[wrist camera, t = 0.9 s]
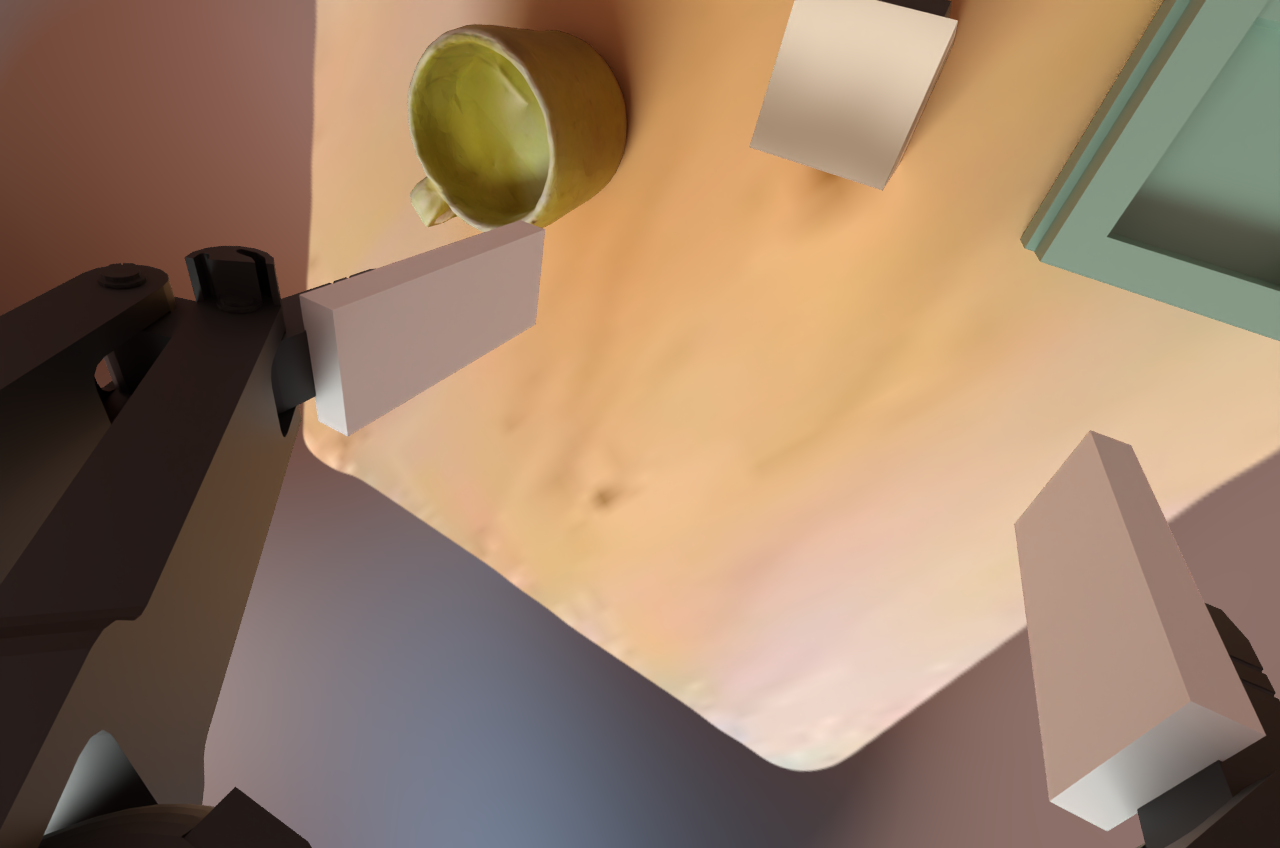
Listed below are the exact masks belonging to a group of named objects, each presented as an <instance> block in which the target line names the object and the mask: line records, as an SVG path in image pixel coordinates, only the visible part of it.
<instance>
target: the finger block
mask: <svg viewBox="0 0 1280 848" xmlns="http://www.w3.org/2000/svg"><path fill="white" fill-rule="evenodd" d="M950 9H951V1H949V0H795V1H794V4H793V8H792V11H791V14H790V17H789V21H788V24H787V27H786V30H785V34H784V37H783V40H782V43H781V47H780V50H779V53H778V56H777V59H776V63H775V66H774V69H773V72H772V76H771V79H770V82H769V85H768V89H767V92H766V95H765V98H764V102H763V105H762V108H761V111H760V115H759V118H758V121H757V124H756V127H755V131H754V134H753V137H752V140H751V144H750V148H753V149H756V150H760V151H763V152H766V153H769V154H772V155H775V156H778V157H781V158H784V159H787V160H790V161H793V162H797V163H800V164H803V165H806V166H809V167H812V168H815V169H818V170H821V171H824V172H827V173H830V174H834V175H837V176H840V177H843V178H846V179H849V180H852V181H855V182H858V183H861V184H864V185H867V186H870V187H874V188H877V189H880V190H883V189H884V187H885V186H886V184H887V183H888V181H889V180H890V178H891V176H892V175H893V173H894V172H895V170H896V169H897V167H898V166H899V164H900V162H901V160H902V157H903V155H904V153H905V151H906V148H907V146H908V144H909V142H910V140H911V137H912V135H913V133H914V131H915V129H916V126H917V124H918V122H919V120H920V117H921V115H922V113H923V111H924V109H925V106H926V104H927V102H928V100H929V97H930V95H931V93H932V91H933V89H934V86H935V84H936V82H937V80H938V77H939V75H940V73H941V71H942V69H943V66H944V64H945V62H946V60H947V57H948V55H949V53H950V51H951V49H952V46H953V44H954V39H955V34H956V29H957V24H958V20H954V19H950Z"/></svg>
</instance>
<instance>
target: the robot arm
mask: <svg viewBox="0 0 1280 848" xmlns="http://www.w3.org/2000/svg"><path fill="white" fill-rule="evenodd" d="M544 235H545V229H543V228H540V227H538V226H535V225H532V224H530V223H527V222H524V221H521V220H519V221H516V222H513V223H510V224H507V225H504V226H501V227H498V228H495V229H493V230H490V231H487V232H484V233H481V234H478V235H475V236H472V237H469V238H466V239H463V240H460V241H457V242H454V243H451V244H448V245H445V246H442V247H439V248H436V249H433V250H430V251H427V252H425V253H422V254H419V255H416V256H413V257H410V258H407V259H404V260H401V261H398V262H395V263H392V264H389V265H386V266H383V267H380V268H377V269H369V270H366V271H363V272H360V273H357V274H354V275H351V276H350V277H349V278H346V277H345V278H342V279H339V280H336V281H334V283H333V284H331V283H328V284H325V285H322V286H319V287H316V288H313V289H310V290H307V291H304V292H301V293H298V294H295V295H292V296H289V297H286V298H283V299H281V298H280V292H279V286H278V281H277V275H276V269H275V264H274V258H273V257H272V256H270V255H269V254H268V253H266V252H263V251H261V250H258V249H254V248H247V247H241V246H218V247H210V248H204V249H201V250H198V251H195V252H192V253H190V254H189V255H188V256H186V257H185V261H186V264H187V268H188V271H189V276H190V279H191V283H192V287H193V291H194V294H195V298H196V301H192V300H187V299H183V298H178V297H174V295H173V291H172V288H171V284H170V281H169V277H168V275H167V274H166V273H165V272H163V271H162V270H160V269H157V268H153V267H150V266H143V265H135V264H132V263H123V265H121V263H119V264H111V265H109V266H106V267H101V268H96V269H93V270H90V271H88V272H85V273H82V274H80V275H78V276H76V277H75V278H73V279H71V280H69V281H67V282H65V283H63V284H61V285H59V286H57V287H56V288H53V289H51V290H49V291H48V292H46V293H44V294H42V295H40V296H38V297H36V298H34V299H32V300H30V301H28V302H26V303H25V304H23V305H21V306H19V307H17V308H15V309H13V310H11V311H9V312H7V313H5V314H3V315H1V316H0V848H312V847H311V846H310V844H309V843H308V841H306V840H305V839H304V838H302V837H301V836H300V835H299V834H297V833H296V832H295V831H293V830H292V829H291V828H289V827H288V826H286V825H285V824H284V823H283V822H281V821H280V820H279V819H277V818H276V817H275V816H273V815H272V814H271V813H269V812H268V811H267V810H265V809H264V808H263V807H261V806H260V805H259V804H257V803H256V802H255V801H253V800H252V799H251V798H250V797H248V796H247V795H246V794H244V793H243V792H242V791H240V790H239V789H238V788H236V787H235V788H234V789H233V790H232V791H231V792H230V793H229V794H228V795H227V796H226V797H225V798H224V799H223V800H222V801H221V802H220V803H219V804H218V805H217V806H216V807H212V806H204V805H202V801H203V791H204V750H205V743H206V739H207V734H208V731H209V727H210V724H211V721H212V717H213V714H214V711H215V707H216V704H217V701H218V697H219V694H220V690H221V687H222V683H223V680H224V677H225V673H226V670H227V667H228V664H229V660H230V657H231V654H232V650H233V647H234V643H235V640H236V637H237V634H238V630H239V627H240V624H241V620H242V617H243V613H244V610H245V607H246V603H247V600H248V597H249V593H250V590H251V586H252V583H253V580H254V577H255V573H256V570H257V566H258V563H259V560H260V556H261V553H262V550H263V546H264V543H265V539H266V536H267V533H268V530H269V526H270V523H271V519H272V516H273V513H274V510H275V506H276V503H277V499H278V496H279V493H280V489H281V486H282V483H283V479H284V476H285V473H286V469H287V466H288V463H289V459H290V456H291V453H292V449H293V446H294V442H295V439H296V436H297V432H298V429H299V426H300V422H301V413H300V407H299V404H301V403H303V402H305V401H307V400H309V399H311V398H313V397H315V401H316V407H317V414H318V420H319V422H321V423H323V424H325V425H327V426H329V427H331V428H333V429H335V430H336V431H338V432H340V433H342V434H344V435H346V436H349V435H351V434H353V433H354V432H356V431H358V430H359V429H361V428H363V427H364V426H366V425H368V424H370V423H371V422H373V421H375V420H376V419H378V418H380V417H381V416H383V415H385V414H386V413H388V412H390V411H391V410H393V409H395V408H396V407H398V406H400V405H401V404H403V403H405V402H406V401H408V400H410V399H411V398H413V397H415V396H416V395H418V394H420V393H421V392H423V391H425V390H426V389H428V388H430V387H431V386H433V385H435V384H436V383H438V382H440V381H441V380H443V379H445V378H446V377H448V376H450V375H452V374H453V373H455V372H457V371H458V370H460V369H462V368H463V367H465V366H467V365H468V364H470V363H472V362H473V361H475V360H477V359H478V358H480V357H482V356H483V355H485V354H487V353H488V352H490V351H492V350H493V349H495V348H497V347H498V346H500V345H502V344H503V343H505V342H507V341H508V340H510V339H512V338H513V337H515V336H517V335H518V334H520V333H522V332H523V331H525V330H527V329H529V328H530V327H532V326H534V325H535V324H536V315H537V305H538V295H539V285H540V275H541V265H542V255H543V245H544ZM103 358H104V360H105V363H106V365H107V368H108V370H109V373H110V376H111V378H112V381H111V382H110V383H109V384H107V385H106V386H105V387H103V388H100V386H99V385H98V384H97V382H96V379H95V377H94V374H95V371H96V367H97V365H98V364H99V362H100V361H101V360H102V359H103ZM1014 525H1015V533H1016V541H1017V548H1018V556H1019V564H1020V572H1021V580H1022V588H1023V596H1024V604H1025V612H1026V620H1027V628H1028V635H1029V643H1030V651H1031V659H1032V667H1033V675H1034V683H1035V690H1036V698H1037V706H1038V715H1039V723H1040V731H1041V737H1042V745H1043V754H1044V762H1045V770H1046V777H1047V785H1048V793H1049V801H1050V802H1052V803H1054V804H1056V805H1058V806H1060V807H1061V808H1064V809H1065V810H1067V811H1069V812H1071V813H1073V814H1075V815H1077V816H1079V817H1081V818H1083V819H1085V820H1087V821H1089V822H1090V823H1092V824H1094V825H1096V826H1098V827H1100V828H1102V829H1104V830H1106V831H1108V830H1110V829H1112V828H1113V827H1115V826H1117V825H1118V824H1120V823H1122V822H1123V821H1125V820H1127V819H1128V818H1130V817H1132V816H1133V815H1135V814H1137V813H1138V815H1139V820H1140V823H1141V828H1142V831H1143V836H1144V840H1145V843H1144V844H1142V845H1140V846H1139V847H1137V848H1280V701H1279V699H1277V698H1275V697H1274V694H1275V691H1274V689H1273V687H1272V685H1271V683H1270V681H1269V679H1268V677H1267V675H1266V674H1263V673H1262V670H1263V667H1262V666H1261V664H1260V662H1259V660H1258V658H1257V656H1256V654H1255V652H1254V650H1253V648H1252V646H1251V644H1250V642H1249V640H1248V639H1247V638H1246V637H1245V636H1244V635H1243V634H1242V632H1241V631H1240V630H1239V629H1238V628H1237V627H1236V626H1235V625H1234V623H1233V622H1232V621H1231V620H1230V619H1229V618H1228V617H1227V616H1226V614H1225V613H1224V612H1223V611H1222V610H1221V609H1218V608H1216V607H1213V606H1211V605H1209V604H1206V603H1204V601H1203V599H1202V597H1201V595H1200V592H1199V590H1198V588H1197V586H1196V584H1195V582H1194V579H1193V577H1192V575H1191V573H1190V571H1189V569H1188V566H1187V565H1186V562H1185V560H1184V558H1183V556H1182V554H1181V551H1180V549H1179V548H1178V545H1177V543H1176V541H1175V539H1174V536H1173V534H1172V532H1171V530H1170V528H1169V526H1168V524H1167V521H1166V519H1165V517H1164V515H1163V513H1162V511H1161V508H1160V506H1159V504H1158V502H1157V500H1156V498H1155V496H1154V493H1153V491H1152V489H1151V487H1150V485H1149V483H1148V481H1147V478H1146V476H1145V474H1144V472H1143V470H1142V468H1141V466H1140V463H1139V461H1138V459H1137V457H1136V455H1135V453H1134V451H1133V448H1132V446H1131V445H1129V444H1126V443H1123V442H1121V441H1118V440H1115V439H1113V438H1110V437H1107V436H1104V435H1102V434H1099V433H1096V432H1094V431H1091V430H1090V431H1089V432H1088V434H1087V435H1086V436H1085V437H1084V439H1083V440H1082V441H1081V442H1080V444H1079V445H1078V446H1077V447H1076V448H1075V450H1074V451H1073V452H1072V453H1071V455H1070V456H1069V457H1068V458H1067V460H1066V461H1065V462H1064V463H1063V465H1062V466H1061V467H1060V468H1059V470H1058V471H1057V472H1056V473H1055V474H1054V476H1053V477H1052V478H1051V479H1050V481H1049V482H1048V483H1047V484H1046V486H1045V487H1044V488H1043V489H1042V491H1041V492H1040V493H1039V494H1038V496H1037V497H1036V498H1035V499H1034V500H1033V502H1032V503H1031V504H1030V505H1029V507H1028V508H1027V509H1026V510H1025V512H1024V513H1023V514H1022V515H1021V517H1020V518H1019V519H1018V520H1017V522H1016V523H1015V524H1014Z"/></svg>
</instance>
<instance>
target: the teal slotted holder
mask: <svg viewBox="0 0 1280 848" xmlns="http://www.w3.org/2000/svg"><path fill="white" fill-rule="evenodd" d="M1020 240H1021V242H1022V244H1023V246H1024V248H1025V249H1028V250H1031V251H1034V252H1035V254H1036V255H1037V257H1038V259H1039V261H1040V262H1043V263H1046V264H1049V265H1052V266H1055V267H1058V268H1061V269H1064V270H1067V271H1070V272H1073V273H1076V274H1079V275H1082V276H1085V277H1088V278H1091V279H1094V280H1097V281H1100V282H1103V283H1106V284H1109V285H1112V286H1115V287H1118V288H1121V289H1124V290H1127V291H1130V292H1133V293H1136V294H1139V295H1142V296H1145V297H1148V298H1151V299H1154V300H1158V301H1161V302H1164V303H1167V304H1170V305H1173V306H1176V307H1179V308H1182V309H1185V310H1188V311H1191V312H1194V313H1197V314H1200V315H1203V316H1206V317H1209V318H1212V319H1215V320H1218V321H1221V322H1224V323H1227V324H1230V325H1233V326H1236V327H1239V328H1242V329H1245V330H1248V331H1251V332H1254V333H1257V334H1260V335H1263V336H1266V337H1269V338H1272V339H1275V340H1278V341H1280V0H1164V1H1163V3H1162V5H1161V6H1160V8H1159V10H1158V11H1157V13H1156V15H1155V16H1154V18H1153V20H1152V21H1151V23H1150V25H1149V26H1148V28H1147V30H1146V31H1145V33H1144V35H1143V36H1142V38H1141V40H1140V41H1139V43H1138V45H1137V46H1136V48H1135V50H1134V51H1133V53H1132V55H1131V56H1130V58H1129V60H1128V61H1127V63H1126V65H1125V66H1124V68H1123V69H1122V71H1121V73H1120V74H1119V76H1118V78H1117V79H1116V81H1115V83H1114V84H1113V86H1112V88H1111V89H1110V91H1109V93H1108V94H1107V96H1106V98H1105V99H1104V101H1103V103H1102V104H1101V106H1100V108H1099V109H1098V111H1097V113H1096V114H1095V116H1094V118H1093V119H1092V121H1091V123H1090V124H1089V126H1088V128H1087V129H1086V131H1085V133H1084V134H1083V136H1082V138H1081V139H1080V141H1079V143H1078V144H1077V146H1076V148H1075V149H1074V151H1073V153H1072V154H1071V156H1070V158H1069V159H1068V161H1067V163H1066V164H1065V166H1064V168H1063V169H1062V171H1061V173H1060V174H1059V176H1058V178H1057V179H1056V181H1055V182H1054V184H1053V186H1052V187H1051V189H1050V191H1049V192H1048V194H1047V196H1046V197H1045V199H1044V201H1043V202H1042V204H1041V206H1040V207H1039V209H1038V211H1037V212H1036V214H1035V216H1034V217H1033V219H1032V221H1031V222H1030V224H1029V226H1028V227H1027V229H1026V231H1025V232H1024V234H1023V236H1022V237H1021V239H1020Z"/></svg>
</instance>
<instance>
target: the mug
mask: <svg viewBox="0 0 1280 848" xmlns="http://www.w3.org/2000/svg"><path fill="white" fill-rule="evenodd" d="M407 103H408V123H409V129H410V134H411V139H412V142H413V145H414V148H415V152H416V155H417V157H418V159H419V160H420V163H421V165H422V167H423V169H424V172H425V174H426V175H427V177H425V178H424V179H423V180H421V181H420V182H419V183H417V185H416V186H415V187H414V189H413V190H412V192H411V194H410V197H411V203H412V205H413V207H414V209H415V210H416V212H417V213H418V215H419V216H420V218H421V220H422V222H423V224H424V225H425V226H426V227H430V226H434V225H438V224H441V223H444V222H446V221H447V220H449V219H451V218H453V217H457V216H458V217H460V218H461V219H462V220H463V221H465V222H466V223H467V224H469V225H471V226H472V227H474V228H476V229H478V230H480V231H482V232H487V231H490V230H493V229H495V228H498V227H501V226H504V225H507V224H510V223H513V222H516V221H519V220H521V221H524V222H527V223H530V224H532V225H535V226H538V227H540V228H543V227H546V226H548V225H550V224H552V223H553V222H555V221H556V220H558V219H559V218H561V217H562V216H564V215H565V214H567V213H568V212H570V211H572V210H573V209H575V208H577V207H578V206H580V205H582V204H583V203H585V202H586V201H588V200H589V199H591V198H592V197H593V196H594V195H596V194H597V193H598V192H599V191H601V190H602V189H603V188H604V187H605V186H606V185H607V184H608V183H609V182H610V180H611V179H612V177H613V176H614V174H615V173H616V171H617V168H618V166H619V164H620V161H621V159H622V156H623V153H624V148H625V142H626V126H627V122H626V108H625V102H624V98H623V95H622V92H621V89H620V87H619V85H618V82H617V80H616V78H615V76H614V74H613V72H612V70H611V69H610V67H609V66H608V64H607V63H606V61H605V60H604V59H603V58H602V57H601V56H600V55H599V54H598V53H597V52H596V51H595V50H594V49H593V48H592V47H591V46H590V45H589V44H587V43H586V42H585V41H583V40H581V39H579V38H577V37H574V36H572V35H570V34H568V33H565V32H561V31H554V30H550V31H534V30H527V29H517V28H510V27H502V26H494V25H477V24H475V25H466V26H463V27H460V28H457V29H454V30H451V31H447V32H445V33H444V34H442V35H441V36H440V37H438V38H437V39H436V40H435V41H434V42H433V43H431V44H430V45H429V46H428V47H427V49H426V51H425V52H424V54H423V55H422V57H421V58H420V60H419V62H418V64H417V66H416V69H415V71H414V74H413V77H412V80H411V83H410V86H409V92H408V102H407Z"/></svg>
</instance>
